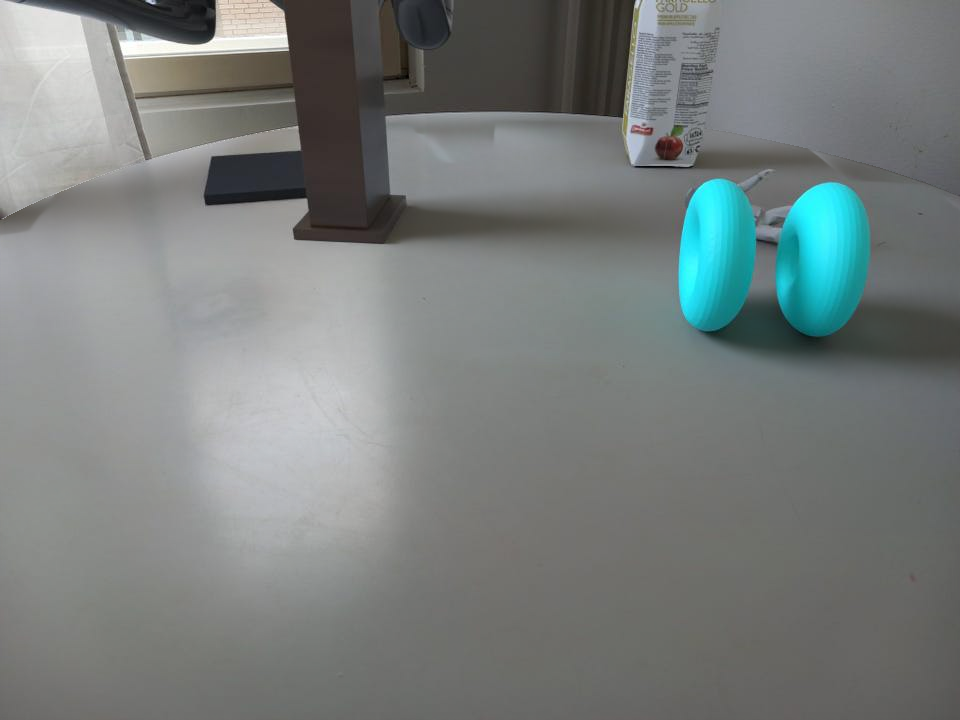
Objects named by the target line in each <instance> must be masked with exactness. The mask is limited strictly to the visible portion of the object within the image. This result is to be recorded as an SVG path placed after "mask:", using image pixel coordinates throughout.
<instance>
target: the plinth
mask: <svg viewBox="0 0 960 720" xmlns="http://www.w3.org/2000/svg"><path fill="white" fill-rule="evenodd" d="M283 6H284V11H283V14H284V22H285V31H286V38H287V47H288V55H289V63H290V70H291V71H290V73H291V78H292V86H293V87H292V88H293V96H294V104H295V112H296V120H297V128H298V135H299V146H300V151H301V153H302V162H303V170H304V178H305V186H306V194H307V197H306V202H307V209H308V211H307V212H306V213H305V215H304V216H302V218H301V219H300V220H299V221H298V222H297V223H295V225H294V226H293V227H292V235H293V239H294V240H302V241H303V240H304V241H324V242H327V241H328V242H344V243H345V242H346V243H347V242H349V243H365V244H367V243H369V244H370V243H371V244H384V242H385V241H386V239H387V238H388V236H389V235H390V233H391V232H392V230H393V228H394V227H395V225H396V223H397V221H398V219H399V218H400V216H401V214H402V213H403V211H404V210H405V208H406V207H407V195H406V194H391V184H390V183H391V182H390V168H389V166H390V165H389V153H388V152H389V151H388V136H387V120H386V119H387V118H386V102H385V89H384V88H385V86H384V74H383V73H384V72H383V71H384V70H383V55H382V41H381V40H382V39H381V38H382V37H381V24H380V19H379V5H378V0H283Z"/></svg>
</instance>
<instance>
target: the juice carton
mask: <svg viewBox="0 0 960 720" xmlns="http://www.w3.org/2000/svg"><path fill="white" fill-rule="evenodd" d="M723 1H724V0H635V2H634V7H633V15H632V25H631V33H630V34H631V35H630V44H629V45H630V46H629V54H628V55H629V56H628V65H627V74H626V85H625V94H624V105H623V116H622V126H621V130H622V131H621V132H622V140H623V145H624V150H625V154H626V153H627V154H626V155H628V156H627V158H628V157H629V158H628V161H629V162H630V164H631V165H632V164H633V165H646V164H647V165H649V164H693V163H694V164H695V163H696V160H697V156H698V154H699V151H700V149H701V146H702V143H703V139H704V133H705V127H706V120H707V113H708V109H709V108H708V107H709V101H710V95H711V89H712V82H713V75H714V69H715V63H716V57H717V51H718V45H719V38H720V31H721V26H722V25H721V24H722V17H723V9H724V8H723V7H724V6H723V5H724V4H723ZM694 164H693V165H694Z"/></svg>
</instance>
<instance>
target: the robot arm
mask: <svg viewBox="0 0 960 720" xmlns="http://www.w3.org/2000/svg"><path fill="white" fill-rule="evenodd" d="M4 1H6V2H10V3H13V4H18V5H24V6H28V7H34V8H38V9H44V10H50V11H55V12H59V13H64V14H68V15H69V14H70V15H75V16H79V17H83V18H87V19H92V20H95V21H99V22H102V23H105V24H108V25H113V26H116V27H119V28H122V29H125V30H129V31H133V32H136V33H139V34H142V35H145V36H149V37H151V38H156V39H160V40H163V41H167V42H170V43H174V44H175V43H176V44H181V45H182V44H183V45H190V46H201V45H205V44H207V43H209V42H211V41H212V40H213V39H214V38H215V35H216V30H217V1H216V0H4ZM268 1H269V2H270V3H272V5H273V4H274V6H276V7H277V8H278V9H280V10H282V11H283V12H284V6H283V0H268ZM387 1H388V0H378V5H379V20H380V18H381V14H382V10H383V7H384V6H385V3H386V2H387ZM390 2H391V9H392V14H393V19H394V23H395V27H396V30H397V32H398V34H399V36H400V37H401V39H402V40H404V42H406V43H407V44H408V45H409V46H411V47H413V48H415V49H417V50H421V51H433V50H438V49H439V48H441V47H442V46H443V45H445V44H446V43H447V42H448V41H449V39H450V37H451V35H452V32H453V25H454V0H390Z"/></svg>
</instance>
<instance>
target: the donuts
mask: <svg viewBox="0 0 960 720" xmlns="http://www.w3.org/2000/svg"><path fill="white" fill-rule="evenodd" d="M698 187H699V188H698V189H697V190H696V192H695V193H694V195H693V196H692V198H691V201H690V203H689V206H688V209H687V208H686V212H685V216H684V220H683V226H682V231H681V239H680V247H679V260H678V293H679V303H680V307H681V311H682V314H683V316H684V318H685V320H686V322H687V323H688V324H689V325H690V326H692V327H693V328H695V329H697V330H699V331H701V332H713V331H717V330H721V329H723V328H724V327H725V326H727V325H729V324H730V323H731V322H732V321H733V320H734V319H735V318H736V317H737V316H738V315H739V313H740V311H741V309H742V308H743V306H744V304H745V302H746V300H747V297H748V294H749V291H750V288H751V284H752V280H753V275H754V270H755V263H756V253H757V239H756V229H755V220H754V215H753V211H752V208H751V205H752V204H751V202H750V203H749V200H748V199H749V198H748V196H747V195H746V192H745V193H744V192H743V191H742V189H741V188H740V187H738V186H737V183H735V182H733V181H730V180H729V179H725V178H714V179H709V180H708V181H705V182H703V184H702V185H700V186H698ZM750 204H751V205H750ZM792 206H793V207H792V208H791V210H790V212H789V213H788V215H787V217H786V220H785V222H783V225H782V227H781V228H782V231H781V234H780V238H779V242H778V243H777V248H776V253H775V265H774V268H775V269H774V280H775V281H774V283H775V293H776V297H777V300H778V301H777V302H778V304H779V307H780V310H781V312H782V314H783V316H784V318H785V319H786V320H787V322H788V323H789V324H790V326H791V327H792V328H793V329H795V330H796V331H797V332H799V333H801V334H802V335H806V336H809V337H813V338H814V337H816V338H817V337H818V338H819V337H826V336H829V335H832V334H834V333H835V332H837V331H839V330H840V329H842V328H843V327H844V326H845V325H846V324H847V323H848V322H849V320H850V319H851V318H852V317H853V314H854V313H855V311H856V310H857V308H858V305H859V304H860V302H861V298H862V296H863V292H864V289H865V286H866V283H867V278H868V273H869V266H870V259H871V229H870V223H869V217H868V213H867V210H866V207H865V205H864V203H863V201H862V199H861V197H859V196H858V194H857V193H856V192H855V191H854V190H853V188H851V187H849V186H848V185H845V184H843V183H839V182H832V181H830V182H829V181H828V182H822V183H820V184H817V185H814V186H812V187H811V188H809V189H808V190H806V191H805V192H804V193H803V194H802V195H800V196H799V198H798V199H797V200H796V201H795V202H794V203H793V205H792Z"/></svg>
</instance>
